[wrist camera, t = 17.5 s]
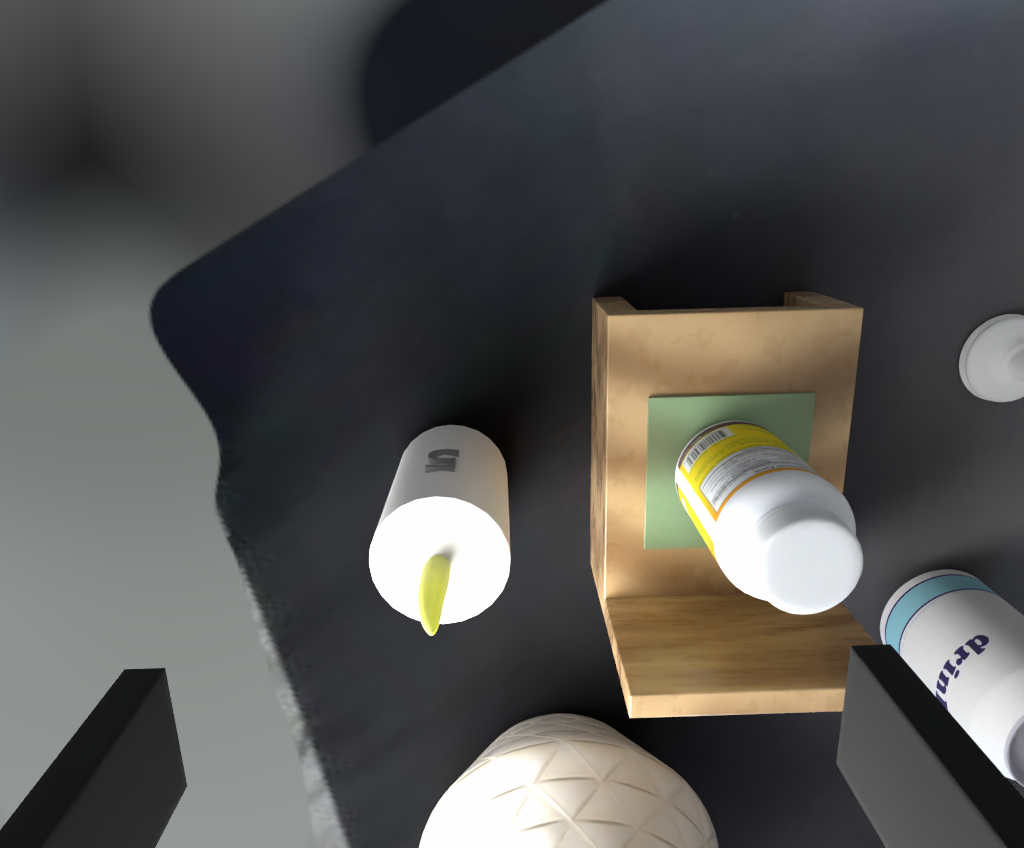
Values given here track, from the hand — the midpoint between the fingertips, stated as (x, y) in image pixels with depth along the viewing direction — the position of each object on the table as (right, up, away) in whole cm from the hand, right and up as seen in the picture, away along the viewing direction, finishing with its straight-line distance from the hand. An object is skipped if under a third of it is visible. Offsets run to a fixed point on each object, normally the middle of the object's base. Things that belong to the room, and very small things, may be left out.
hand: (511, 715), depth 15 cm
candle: (-3, +3, +29) cm, 30 cm away
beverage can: (+26, -6, +33) cm, 42 cm away
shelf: (+11, +5, +29) cm, 31 cm away
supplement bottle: (+11, +3, +23) cm, 26 cm away
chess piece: (+27, +9, +28) cm, 40 cm away
